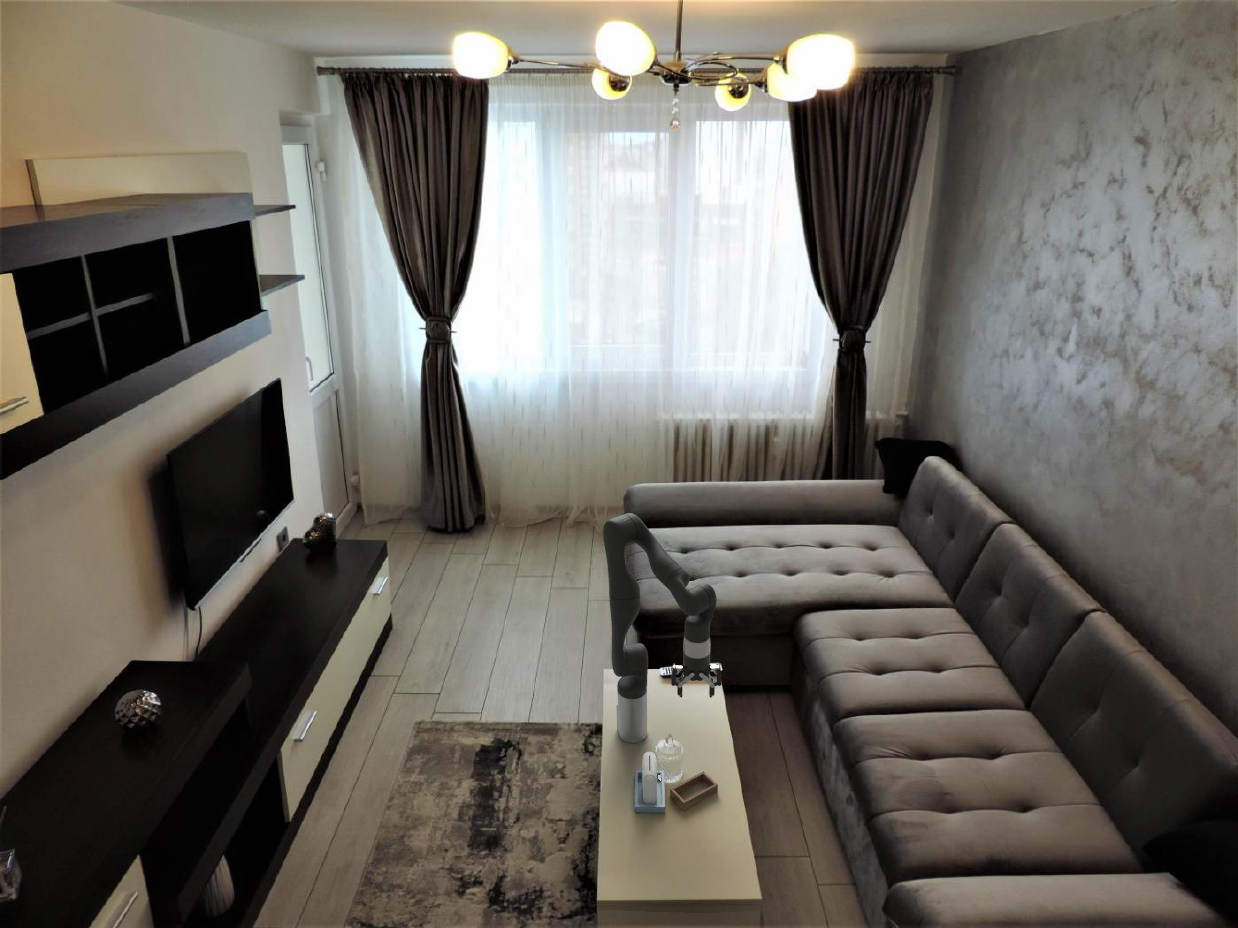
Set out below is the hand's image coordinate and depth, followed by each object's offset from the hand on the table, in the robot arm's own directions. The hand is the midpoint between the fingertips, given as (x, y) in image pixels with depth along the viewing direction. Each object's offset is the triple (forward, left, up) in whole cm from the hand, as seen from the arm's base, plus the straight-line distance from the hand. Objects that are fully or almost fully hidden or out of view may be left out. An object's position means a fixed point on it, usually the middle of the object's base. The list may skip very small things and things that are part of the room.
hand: (695, 695), depth 251 cm
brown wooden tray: (+7, -6, -28) cm, 30 cm away
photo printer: (0, -17, -28) cm, 32 cm away
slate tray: (0, -17, -28) cm, 33 cm away
